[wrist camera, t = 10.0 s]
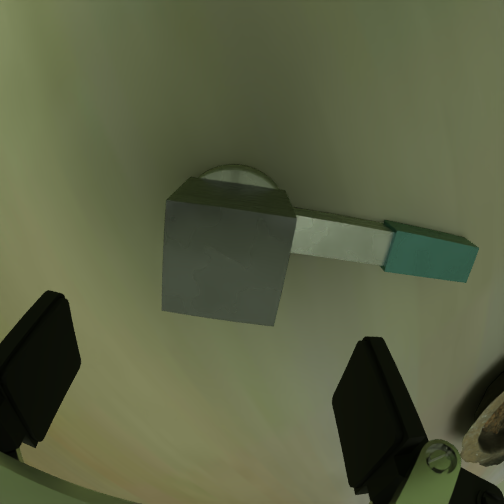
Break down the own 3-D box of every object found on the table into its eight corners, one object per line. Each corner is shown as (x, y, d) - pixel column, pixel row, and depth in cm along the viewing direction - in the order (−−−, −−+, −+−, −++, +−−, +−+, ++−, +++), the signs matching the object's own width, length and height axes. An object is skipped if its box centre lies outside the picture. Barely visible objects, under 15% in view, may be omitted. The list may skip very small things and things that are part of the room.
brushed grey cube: (190, 177, 20) (166, 200, 15) (285, 190, 21) (297, 218, 15) (182, 262, 23) (161, 310, 17) (268, 274, 23) (273, 326, 17)
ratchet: (187, 158, 23) (159, 174, 16) (471, 214, 24) (521, 244, 17) (178, 256, 26) (155, 305, 19) (444, 290, 27) (482, 334, 20)
